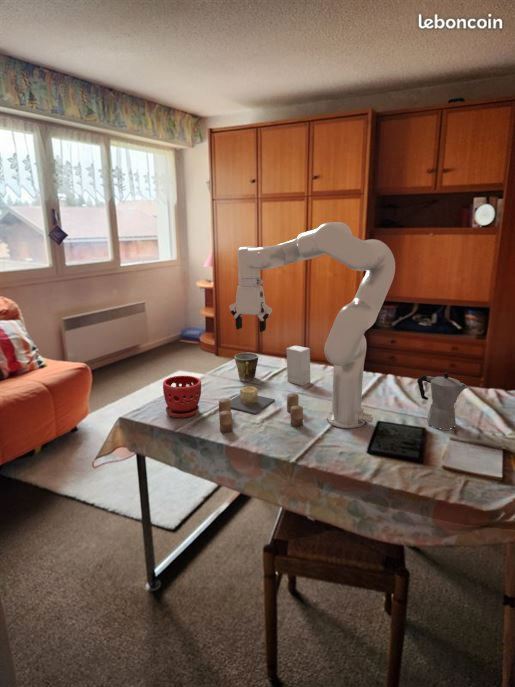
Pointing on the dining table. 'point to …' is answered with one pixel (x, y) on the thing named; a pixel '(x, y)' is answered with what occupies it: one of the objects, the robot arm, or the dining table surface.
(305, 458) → the dining table surface
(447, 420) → the coffeepot
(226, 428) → the cylinder
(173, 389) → the plant pot
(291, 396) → the cylinder
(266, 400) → the mat
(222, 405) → the cylinder
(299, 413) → the cylinder
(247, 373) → the ceramic cup
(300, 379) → the skincare box
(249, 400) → the tan faceted block
